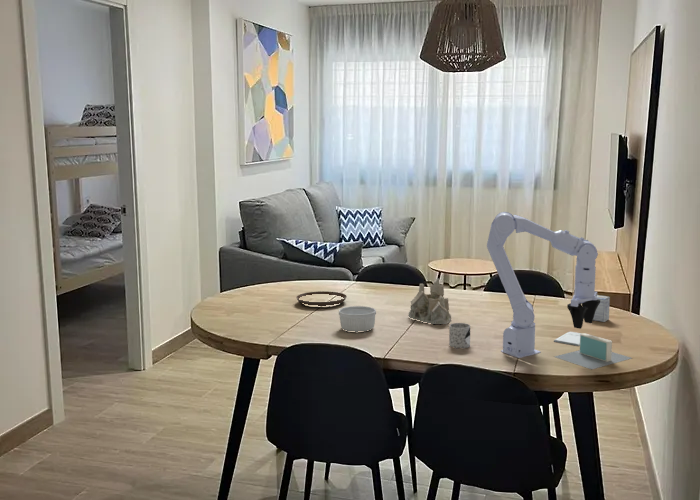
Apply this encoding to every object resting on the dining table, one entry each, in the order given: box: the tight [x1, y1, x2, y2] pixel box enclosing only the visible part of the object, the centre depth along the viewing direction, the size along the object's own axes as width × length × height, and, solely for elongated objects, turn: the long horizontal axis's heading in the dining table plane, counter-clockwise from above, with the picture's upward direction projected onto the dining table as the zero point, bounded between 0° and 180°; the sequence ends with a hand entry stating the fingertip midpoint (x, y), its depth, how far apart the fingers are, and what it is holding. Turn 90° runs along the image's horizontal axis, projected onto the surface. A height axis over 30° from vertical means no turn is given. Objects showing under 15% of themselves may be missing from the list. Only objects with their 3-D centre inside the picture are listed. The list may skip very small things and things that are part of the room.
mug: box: [448, 322, 471, 349], centre depth 222 cm, size 10×7×7 cm
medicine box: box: [593, 294, 611, 323], centre depth 248 cm, size 8×4×9 cm, turn 47°
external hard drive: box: [553, 331, 583, 347], centre depth 224 cm, size 2×8×12 cm
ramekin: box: [338, 305, 377, 332], centre depth 241 cm, size 13×13×7 cm
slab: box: [579, 332, 613, 362], centre depth 205 cm, size 2×10×6 cm, turn 31°
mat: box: [553, 349, 633, 371], centre depth 205 cm, size 18×14×1 cm
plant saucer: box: [296, 290, 347, 306], centre depth 280 cm, size 21×21×3 cm
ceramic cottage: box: [407, 278, 452, 325], centre depth 252 cm, size 16×16×15 cm
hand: (583, 325), depth 207 cm, fingers open, 7 cm apart
